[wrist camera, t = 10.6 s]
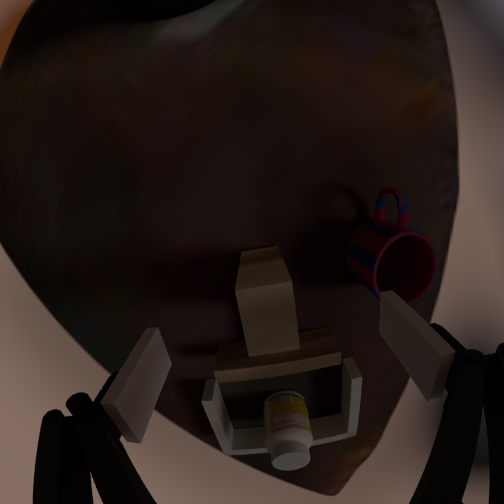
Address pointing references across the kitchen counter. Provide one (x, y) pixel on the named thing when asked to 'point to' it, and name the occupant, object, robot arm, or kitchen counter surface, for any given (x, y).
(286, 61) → the kitchen counter surface
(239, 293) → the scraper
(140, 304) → the kitchen counter surface
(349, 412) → the corral
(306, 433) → the supplement bottle
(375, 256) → the mug
